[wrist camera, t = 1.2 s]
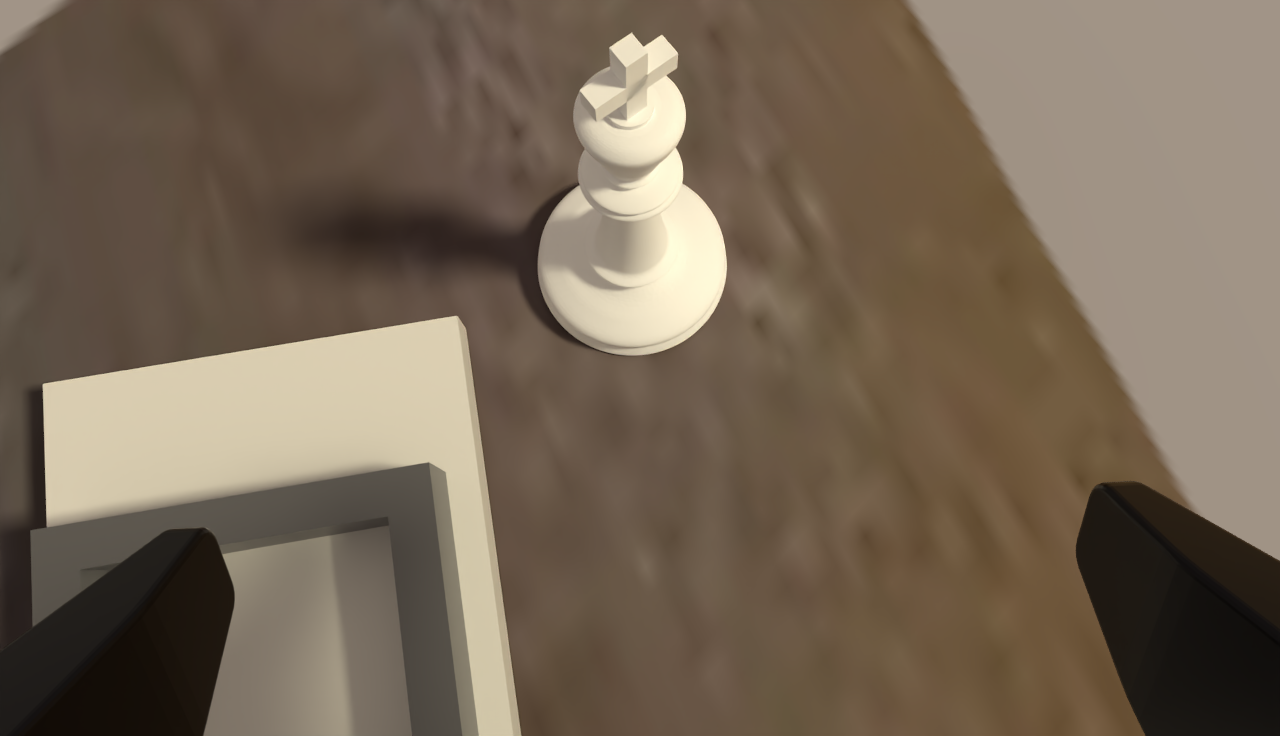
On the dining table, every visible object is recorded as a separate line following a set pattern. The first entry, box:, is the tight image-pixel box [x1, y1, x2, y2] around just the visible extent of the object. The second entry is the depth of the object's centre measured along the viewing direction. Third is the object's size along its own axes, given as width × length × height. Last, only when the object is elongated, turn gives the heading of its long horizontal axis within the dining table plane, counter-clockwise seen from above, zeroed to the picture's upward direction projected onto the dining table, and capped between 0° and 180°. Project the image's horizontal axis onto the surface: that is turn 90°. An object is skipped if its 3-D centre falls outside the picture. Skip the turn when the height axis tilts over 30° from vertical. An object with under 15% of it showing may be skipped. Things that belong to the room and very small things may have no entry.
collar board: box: [30, 316, 521, 736], centre depth 20 cm, size 16×10×3 cm, turn 10°
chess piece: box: [538, 33, 727, 356], centre depth 19 cm, size 5×5×10 cm
